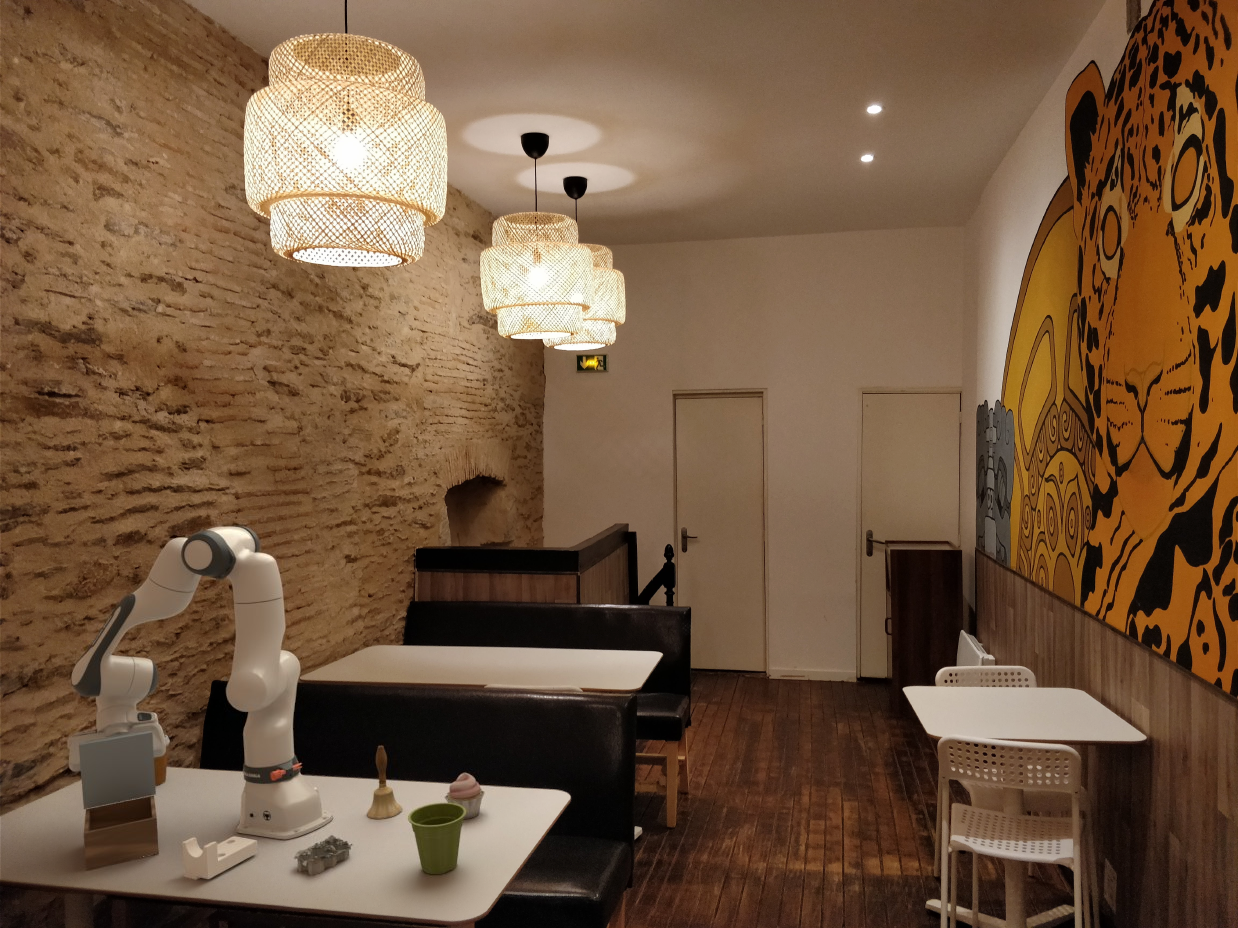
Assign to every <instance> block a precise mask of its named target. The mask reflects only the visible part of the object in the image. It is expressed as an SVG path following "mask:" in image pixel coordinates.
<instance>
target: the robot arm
mask: <svg viewBox="0 0 1238 928" xmlns="http://www.w3.org/2000/svg"><path fill="white" fill-rule="evenodd" d="M260 549H261V543H260V539H259V537H258V534H256V532H255V531H254V530H252V529H251V528H249V527H246V526H244V525H243V526H242V525H235V524H234V525H230V526H216V527H212V528H208V529H204V530H198V531H197V532H195V533H194V534H192V535H191V536H189V537H176V538H173V539H171V540H169V541H168V542H167V543H166V544H165V546H164V547H163V548H162V549H161V551H160V552H159V554H158V556H157V558H156V559H155V561H154V564H153V565H152V568H151V570H150V572H149V573H148V576H147V578H146V580H145V581H144V582H143V584H142V585H141V586H139V588H137V589H136V590H135V591H133V592H132V593H129V594H127V595H125V596H123V598H122V599H121V600H120V601H119V602H118V603H117V605H116V606H115V608H114V609H112V612H111V613H110V615H109V616H108V618H107V620H106V621H105V623H104V624H103V626H102V627H101V629H100V631H98V633H97V634H96V636H95V638H94V639H93V641H92V643H91V644H90V645H89V647H88V648H87V650H86V651H85V652H84V653H83V655H81V657H80V658H79V659H78V660H77V662H76V663H75V665H74V667H73V669H72V673H71V677H70V684H71V686H72V687H73V689H74V691H76V693H78V694H79V695H80V696H81V697H83V698H89V697H91V698H93V697H94V698H95V704H96V707H97V712H96V716H95V718H96V719H95V722H96V724H95V726H96V728H95V729H88V730H85V731H77V732H74V734H72V735H70V736H69V737H68V738H67V749H68V750H69V755H68V767H69V769H70V770H71V771H72V772H81V767H80V754H79V743H84V742H90V741H95V740H101V739H107V738H113V737H118V736H124V735H130V734H136V733H141V732H147V731H152V734H153V752H154V757H160V756H163V755H164V754H165V752H166V744H165V738H164V735H165V734H164V730H163V727H162V726H161V725H160V724H159V719H158V715H157V713H156V712H150V711H149V712H148V711H140V710H137V704H138V703H139V702H143V701H144V700H145V699H146V698H147V697H149V696H150V695H151V694H153V693H154V692H155V691H156V690H157V688H158V685H159V670H158V666H157V664H156V663H155V661H153V660H152V659H150V658H145V657H140V656H139V657H138V656H123V655H113V653H114V651H115V649H116V648H117V646H118V645H119V643H120V642H121V640H122V638H123V637H124V635H125V634H126V632H128V631H129V630H130V629H131V628H133V627H136V626H138V625H142V624H144V623H148V622H152V621H158V620H164V619H169V618H172V617H174V616H177V615H178V614H180V613H181V612H183V611H185V609H187V607H188V606H190V605H189V604H190V603H191V602H192V599H193V598H194V595H195V592H196V590H197V588H198V585H199V583H200V580H201V578H202V576H203V577H207V578H208V577H209V578H212V579H217V580H220V581H221V580H224V579H225V578H227V580H229V581H230V583H231V586H232V590H233V591H232V592H233V606H234V607H233V608H234V623H235V624H234V625H235V644H234V652H233V659H232V667H231V673H230V677H229V680H228V682H227V685H226V687H225V694H226V699H227V701H228V703H229V704H230V705H231V706H232V707H233V708H234V709H236V710H238V711H239V712H245V713H247V712H248V713H247V718H246V722H245V725H244V727H243V733H242V736H243V748H244V749H243V751H244V762H243V765H242V766H243V767H242V773H243V780H244V782H245V783H244V787H243V790H242V792H241V801H240V823H239V824H238V826H237V827H236V832H237V833H239V834H244V835H245V834H246V835H251V836H259V837H266V838H271V839H276V840H277V839H279V840H290V839H293V838H298V837H300V836H303V835H307V834H309V833H311V832H313V831H315V830H318V829H319V828H321V827H323V826H326V825H327V824H329V823H330V822H331V821H332V820H333V819H334V815H333V814H334V813H332V812H330V811H328V810H326V809H324V808H323V807H322V800H321V796H320V794H319V790H318V787H316V786H312V785H311V784H310V782H309V781H308V780H307V779H306V778H305V776H303V775H302V774H301V769H302V768H303V766H301V765H302V764H303V763H302V762H300V763H299V761H298V758H297V755H296V754H295V748H294V746H295V745H294V729H293V728H294V712H295V703H296V697H297V687H298V680H299V678H300V675H301V670H302V669H301V663H300V661H299V659H298V657H297V656H296V655H295V654H294V653H292V652H291V651H288V650H283V649H282V645H283V638H284V635H285V633H286V627H287V625H286V615H285V602H284V600H285V599H284V591H283V584H282V578H281V573H280V570H279V567H278V564H277V560H276V559H275V558H274V557H273V556H272V555H270V554H268V553H264V552H260Z"/></svg>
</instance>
